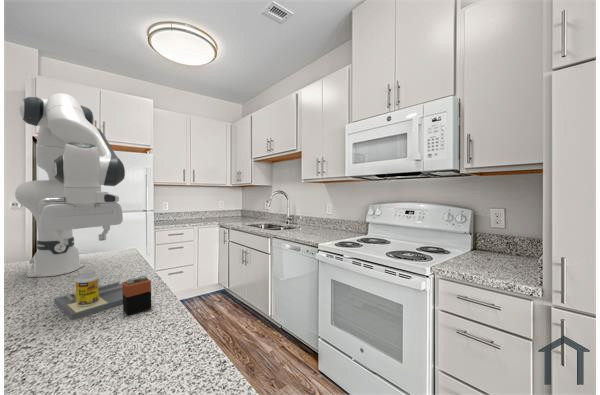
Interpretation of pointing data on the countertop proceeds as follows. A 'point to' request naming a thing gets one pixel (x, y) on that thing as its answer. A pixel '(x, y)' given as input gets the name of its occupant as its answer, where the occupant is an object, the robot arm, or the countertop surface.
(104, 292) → the board
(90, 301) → the supplement bottle
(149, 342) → the countertop surface
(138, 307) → the battery
